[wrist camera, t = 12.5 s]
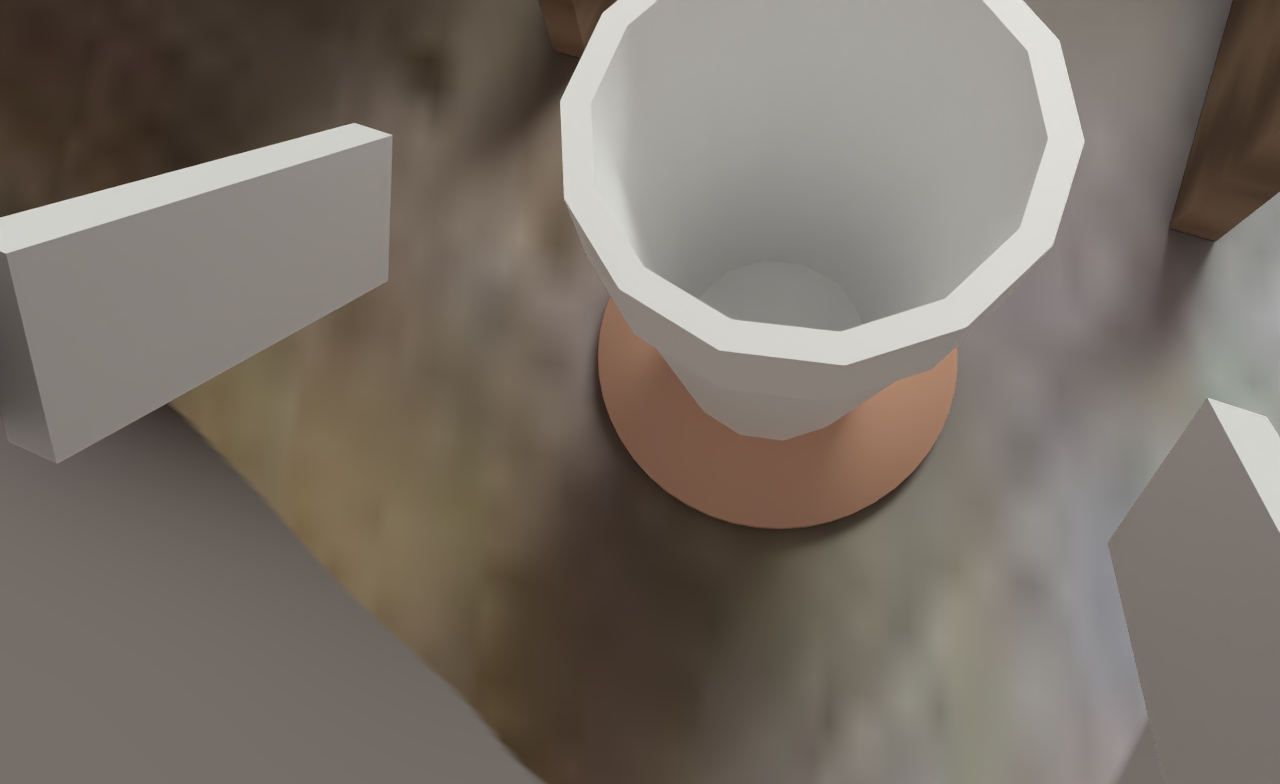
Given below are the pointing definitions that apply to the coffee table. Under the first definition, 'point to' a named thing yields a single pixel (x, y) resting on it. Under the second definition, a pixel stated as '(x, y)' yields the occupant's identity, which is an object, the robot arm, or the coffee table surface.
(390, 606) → the coffee table surface
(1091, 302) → the coffee table surface
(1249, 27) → the wooden tray
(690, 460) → the terracotta pad
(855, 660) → the coffee table surface
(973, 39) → the foam cup
